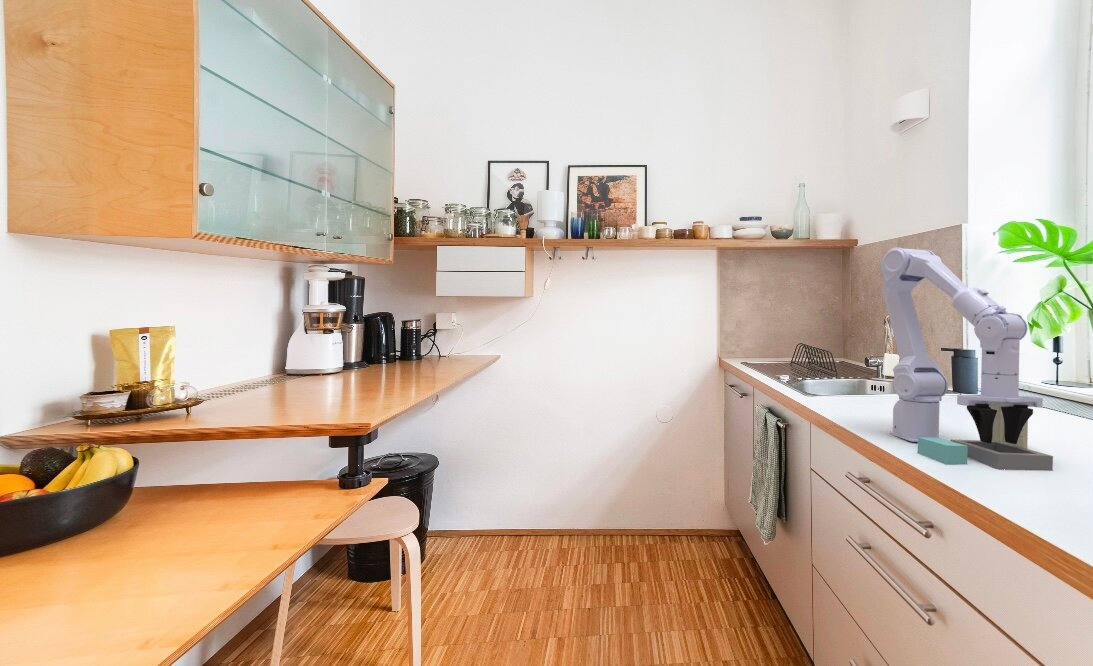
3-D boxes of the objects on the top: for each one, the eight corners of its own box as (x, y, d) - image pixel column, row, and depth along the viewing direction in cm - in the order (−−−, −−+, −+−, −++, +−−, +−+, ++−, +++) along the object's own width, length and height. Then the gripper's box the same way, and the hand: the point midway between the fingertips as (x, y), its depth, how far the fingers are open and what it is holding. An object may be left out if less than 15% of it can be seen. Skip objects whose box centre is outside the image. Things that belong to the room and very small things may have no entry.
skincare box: (1010, 450, 118) (1011, 395, 118) (1028, 455, 113) (1030, 397, 113) (981, 450, 118) (982, 394, 118) (999, 455, 113) (1000, 397, 113)
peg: (917, 456, 112) (917, 437, 112) (936, 456, 112) (936, 437, 112) (946, 466, 104) (947, 445, 104) (967, 466, 104) (967, 445, 104)
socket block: (950, 453, 114) (950, 439, 114) (998, 455, 113) (998, 441, 113) (997, 470, 101) (998, 454, 101) (1052, 472, 100) (1052, 455, 100)
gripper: (974, 375, 103) (973, 445, 104) (1056, 376, 102) (1055, 448, 102) (950, 372, 110) (949, 438, 111) (1026, 373, 109) (1025, 440, 109)
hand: (998, 442), depth 107 cm, fingers open, 4 cm apart
